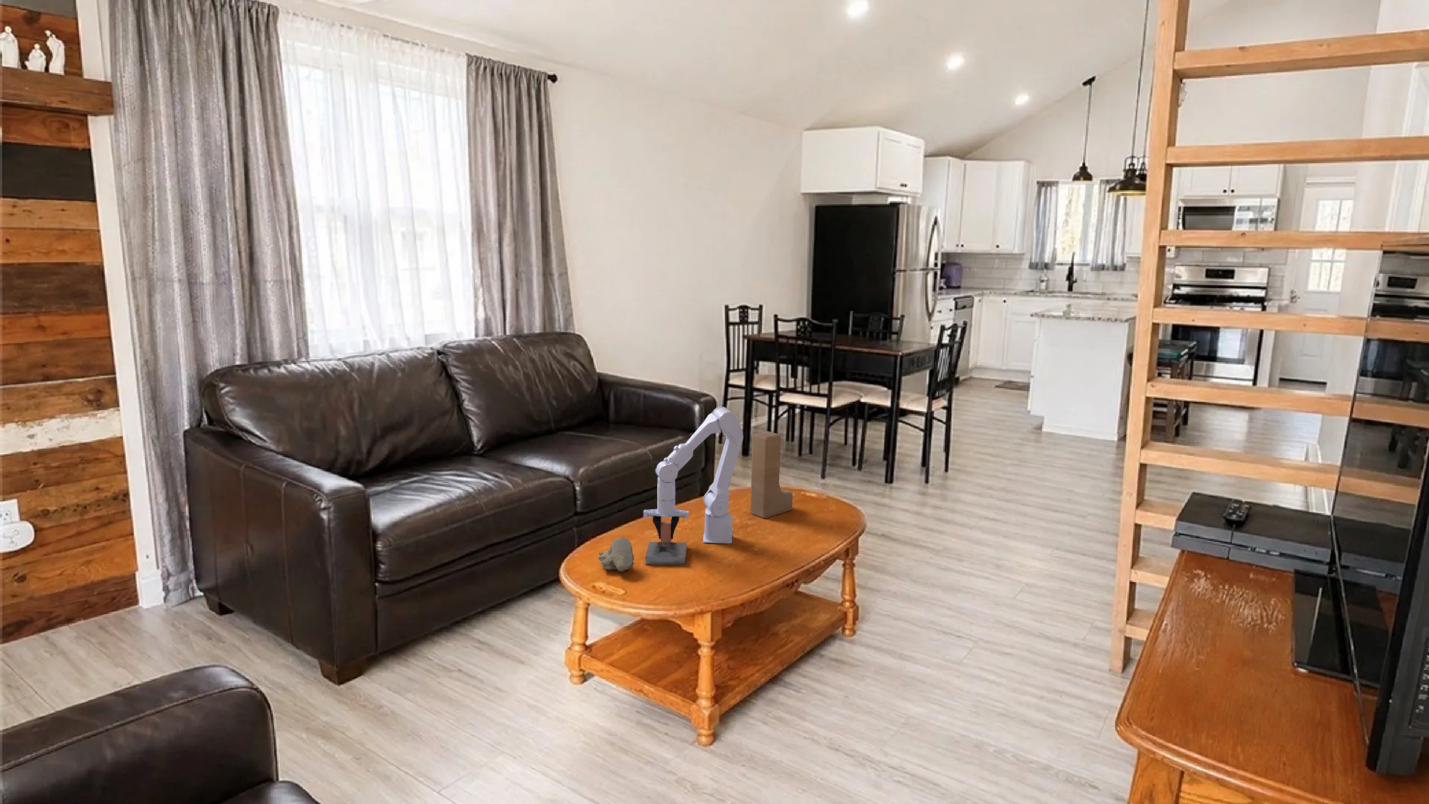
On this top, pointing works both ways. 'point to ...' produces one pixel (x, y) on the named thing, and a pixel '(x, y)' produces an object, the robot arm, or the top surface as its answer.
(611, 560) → the fossil
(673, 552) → the gray slotted base
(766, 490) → the decorative block
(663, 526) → the reddish brown rectangular block
